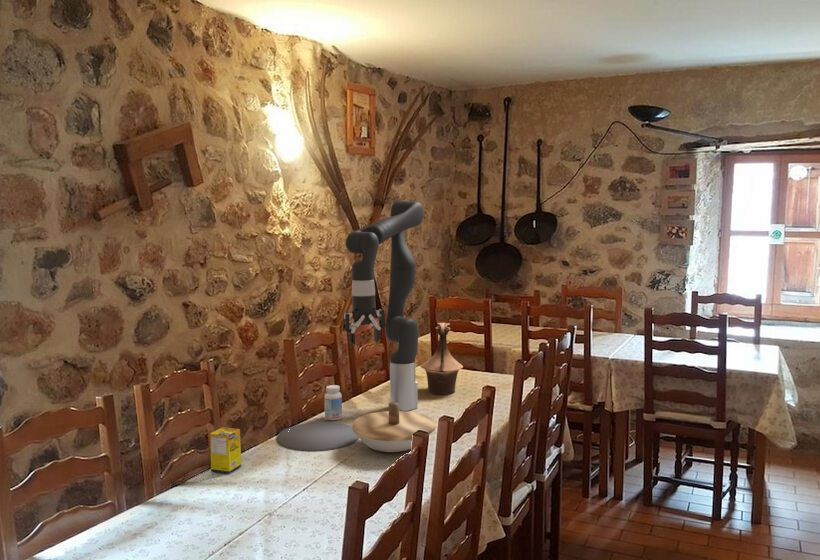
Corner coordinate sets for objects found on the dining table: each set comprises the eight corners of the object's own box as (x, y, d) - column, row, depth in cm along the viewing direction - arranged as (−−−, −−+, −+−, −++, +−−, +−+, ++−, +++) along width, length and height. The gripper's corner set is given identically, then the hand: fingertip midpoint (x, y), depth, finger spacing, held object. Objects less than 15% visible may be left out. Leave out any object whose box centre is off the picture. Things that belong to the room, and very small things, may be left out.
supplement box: (241, 466, 185) (240, 428, 184) (229, 474, 179) (228, 435, 178) (223, 464, 187) (222, 426, 186) (210, 471, 181) (209, 433, 180)
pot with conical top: (464, 397, 255) (464, 326, 253) (420, 397, 256) (420, 326, 253) (461, 386, 273) (461, 319, 270) (420, 386, 273) (420, 319, 270)
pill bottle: (343, 415, 232) (343, 384, 231) (340, 421, 226) (339, 389, 225) (326, 415, 233) (326, 384, 232) (322, 420, 227) (322, 388, 226)
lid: (412, 410, 216) (412, 389, 216) (450, 432, 194) (450, 409, 193) (340, 421, 205) (340, 398, 204) (372, 446, 183) (372, 420, 182)
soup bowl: (444, 441, 206) (444, 421, 205) (410, 468, 184) (410, 445, 183) (376, 431, 216) (376, 411, 215) (337, 454, 195) (337, 433, 194)
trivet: (341, 419, 228) (341, 418, 228) (372, 442, 205) (372, 440, 205) (267, 431, 216) (267, 429, 216) (291, 456, 193) (291, 454, 193)
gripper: (378, 290, 220) (379, 338, 222) (338, 294, 213) (340, 343, 215) (388, 293, 214) (389, 342, 216) (347, 296, 207) (349, 347, 209)
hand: (364, 342), depth 215 cm, fingers open, 8 cm apart
